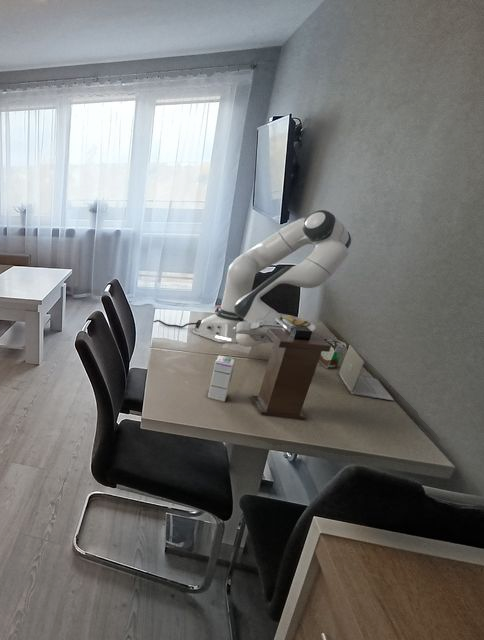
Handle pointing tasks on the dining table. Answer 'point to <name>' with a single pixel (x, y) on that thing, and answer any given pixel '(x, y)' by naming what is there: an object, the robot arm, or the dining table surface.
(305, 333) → the twin chrome rods
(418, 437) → the dining table surface
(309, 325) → the bowl
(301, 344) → the stand
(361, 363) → the laptop
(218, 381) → the syrup box
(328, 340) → the food container
